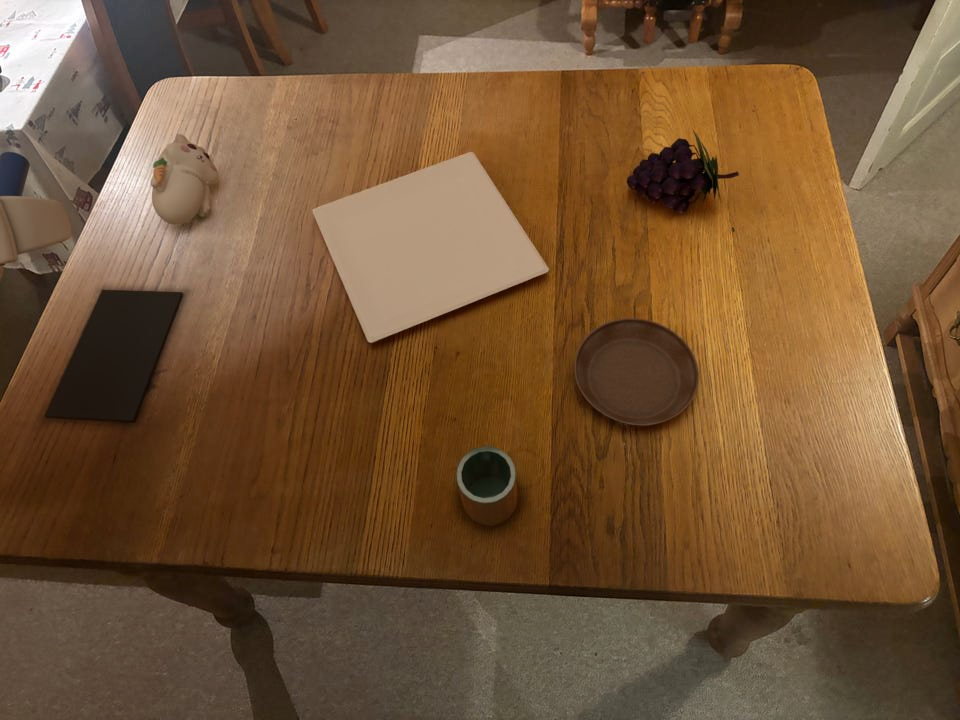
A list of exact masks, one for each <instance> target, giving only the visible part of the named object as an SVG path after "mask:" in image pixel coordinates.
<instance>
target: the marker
mask: <svg viewBox="0 0 960 720" xmlns="http://www.w3.org/2000/svg"><path fill="white" fill-rule="evenodd" d="M29 171H30V161H29V159H28V158H26V156H23V155H22V154H20V153H18V152H14V151H5V152H2V153H1V154H0V196H22V197H23V193H24V189H25V185H26V182H27V178H28V174H29ZM4 267H5V266H4V265H2V266H0V283H1V282H2V278H3V274H4Z"/></svg>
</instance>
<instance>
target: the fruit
mask: <svg viewBox="0 0 960 720" xmlns="http://www.w3.org/2000/svg"><path fill="white" fill-rule="evenodd" d="M692 131H693V134H694V137H695V141H696V144H697V147H696V145H694V144H690V143H689V141H688V140H687V139H685V138H680V137H678V138H677V139H676V140H675V141H674V142H673V143H672V144H670V146H664V147H663V148H662V149H661V150H660V151H659V153H658V152H657V153H656V152H650V154H649V155H648V156H647V159H642V160H641V161H639V165H637V166H636V167H634V168H633V170H632V172H631V173H632V174H630V175H629V176H627V178H626V184H627V187H629V189H630V190H631V191H635V193H636V195H637V196H638V197H646V199H647V201H648V202H649V203H650V204H654V205H657V203H658V202H660V201H661V202H662V205H663V207H665V208H667V209H672V211H673V212H676V213H678V214H684V213H685V212H687V211H688V210H689V208H690V205H691V204H694V205H693V206H692V208H694V207H695V205H696V204H697V203H698V201H699V200H700V199H701V198H702V196H703V199H702V203H701V205H700V206H701V207H703V205H704V203H705V201H706V198H707V196H708V195H711V190H712V195H713V201H715V200H716V197H717V196H716V195H718V198H719V201H720V203H722V200H721V193H720V185H719V180H723V179H724V180H727V179H732V178H737V177H739V176H740V173H739V171H735V172H730V173H726V174H719V163H718V158H717V155H715V156H712V157H710V155H709V152H708V149H707V147H706V146H705V145H704V143H703V142H702V141H701V139H700V138H699V135H698V133H696V131H695V130H694V129H692ZM691 147H694V149H695V151H696V152H693V150H692V149H691ZM694 155H695V156H696V158H693V156H694ZM697 191H699V193H698V195H697V197H696V198H695V199H694V201H690V200H691V199H692V198H693V197H694V196H696V195H695V194H696V192H697ZM701 207H700V208H701Z"/></svg>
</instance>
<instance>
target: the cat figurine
mask: <svg viewBox="0 0 960 720" xmlns="http://www.w3.org/2000/svg"><path fill="white" fill-rule="evenodd" d="M152 168H153V171H152V174H153V175H152V177H151V178H150V181H149V182H150V186H151V187H152V190H151V202H152V207H153V210H154V211H155V214H157V216H158V217H159V218H160V219H161V220H162V221H164V222H165V223H167V224H169V225H172V226H180V225H185V224H187V223H188V222H190V221H191V220H192V219H193V218H194V217H195V216H197V214H198V215H199V217H201V218H205V217H206V216H208V215H209V211H210V209H211V201H212V199H211V192H210V188H209V187H211V185H213V184H215V183H217V182H218V181H219V179H220V174H219V171H218V169H217V167H216V165H215V164H214V163H213V161H212V159H211V156H210V155H209V154H208V153H207V152H206V150H205V149H204V147H202V146H198V145H197V144H195V143H193V142H190V141H189V140H188V138H187V137H186V136H185V135H184V134H182V133H178V134H176V135H175V137H174V140H173V142H170V143H169V144H168V145H166V147H165V148H164V149H163V150H162V152H161V153H160V155H159V156H158V158H157V160H155V161H154V162H153V165H152Z"/></svg>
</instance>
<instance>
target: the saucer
mask: <svg viewBox="0 0 960 720" xmlns="http://www.w3.org/2000/svg"><path fill="white" fill-rule="evenodd" d="M573 368H574V378H575V381H576V384H577V387H578V388H579V390H580V393H581V394H582V396H583V397H584V398H585V401H587V402H588V403H589V404H590V405H591V406H592V407H593V408H594V409H595V410H596V411H598V412H599V413H600V414H602V415H603V416H606V417H607V418H610V419H611V420H614V421H616V422H619V423H623V424H626V425H631V426H652V425H658V424H661V423H665V422H667V421H670V420H672V419H673V418H676V417H677V416H678V415H680V414H681V413H682V412H684V410H685V409H687V408H688V406H689V405H690V404H691V403H692V401H693V399H694V398H695V396H696V393H697V390H698V388H699V387H698V386H699V383H700V382H699V380H700V373H699V366H698V362H697V359H696V356H695V354H694V353H693V351H692V349H691V348H690V346H689V344H688V343H687V342H686V341H685V340H684V339H683V338H682V337H680V335H678V334H677V333H676V332H675V331H673V330H672V329H670V328H669V327H667V326H665V325H663V324H660V323H659V322H656V321H652V320H649V319H643V318H635V317H634V318H632V317H630V318H619V319H613V320H611V321H610V320H609V321H608V322H604V323H603V324H601V325H599V326H597V327H596V328H594V329H593V330H591V332H590V333H588V334H587V335H586V336H585V337H584V338H583V340H582V341H581V343H580V345H579V346H578V348H577V350H576V354H575V358H574V366H573Z"/></svg>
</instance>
